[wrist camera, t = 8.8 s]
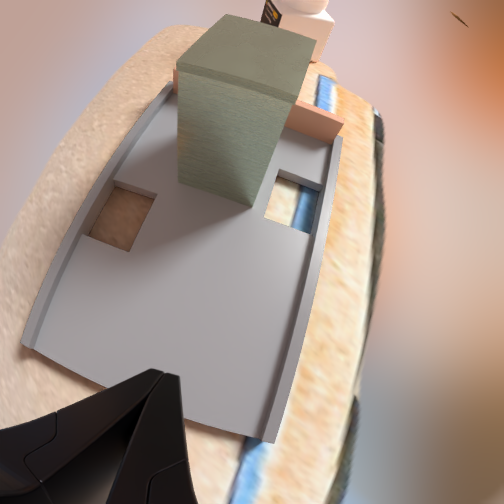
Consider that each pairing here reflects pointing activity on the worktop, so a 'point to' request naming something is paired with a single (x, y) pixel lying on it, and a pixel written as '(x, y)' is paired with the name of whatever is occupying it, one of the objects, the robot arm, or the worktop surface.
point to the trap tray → (194, 277)
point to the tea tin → (236, 104)
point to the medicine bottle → (301, 20)
